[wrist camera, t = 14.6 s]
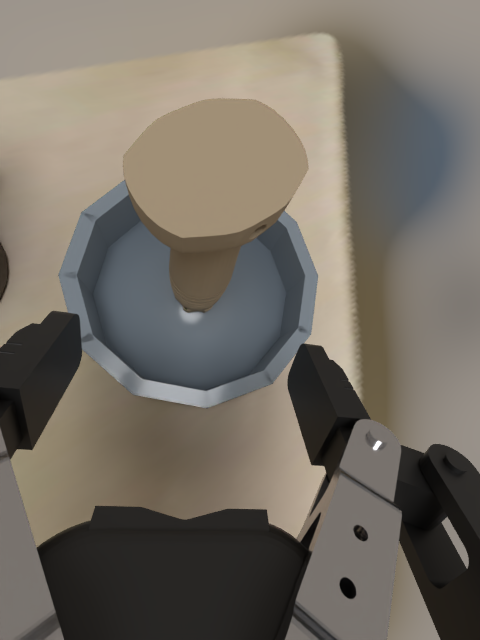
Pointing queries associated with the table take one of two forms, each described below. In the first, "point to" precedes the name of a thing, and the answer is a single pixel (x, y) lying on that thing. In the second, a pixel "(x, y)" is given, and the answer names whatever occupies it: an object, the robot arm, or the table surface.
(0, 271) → the beer stein
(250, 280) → the bowl
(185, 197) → the handle
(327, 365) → the robot arm
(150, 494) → the table surface
